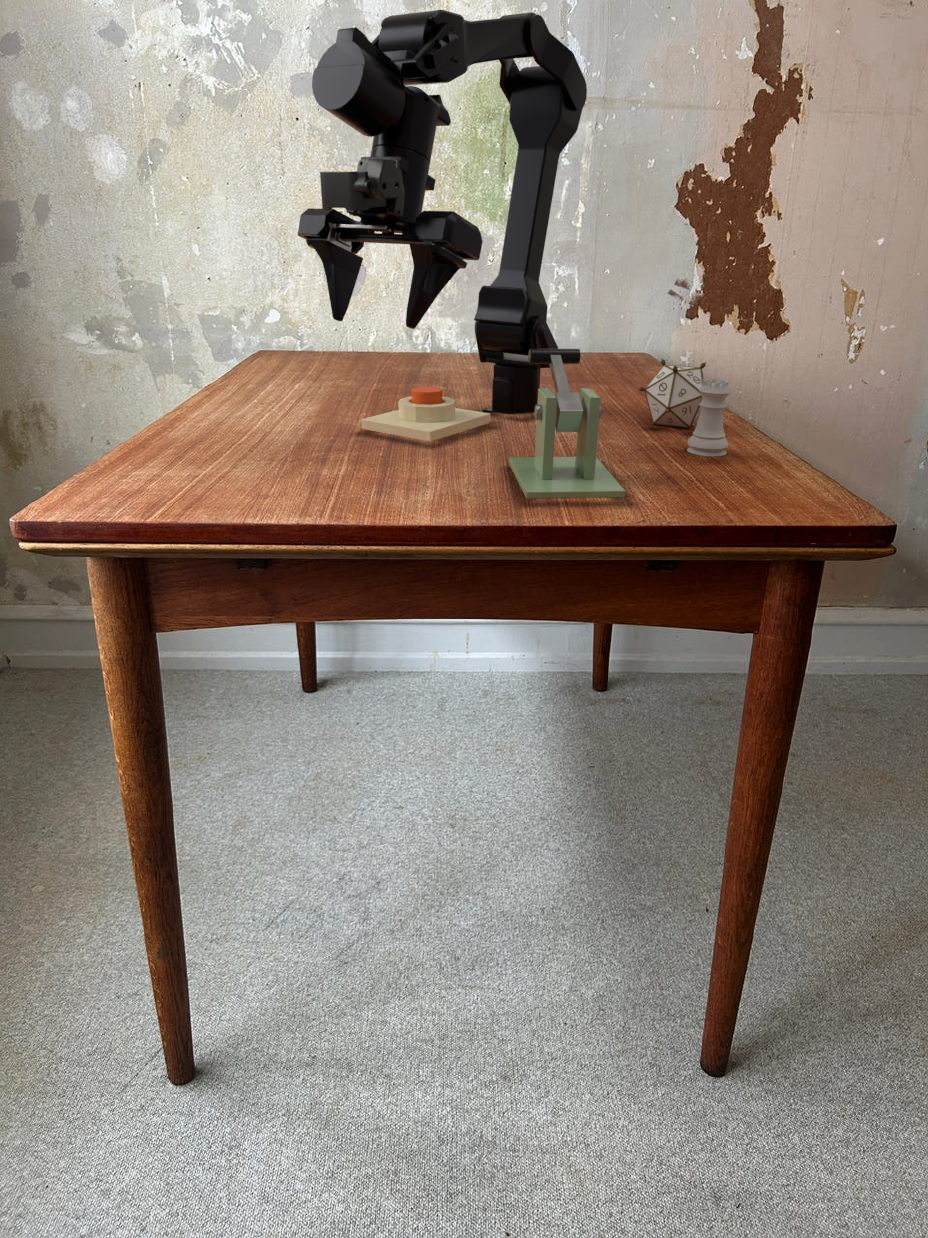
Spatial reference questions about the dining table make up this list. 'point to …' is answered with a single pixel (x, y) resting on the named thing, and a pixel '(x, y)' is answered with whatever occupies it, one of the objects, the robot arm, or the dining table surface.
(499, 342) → the robot arm
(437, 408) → the button block
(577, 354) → the lever
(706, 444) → the rook chess piece
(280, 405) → the dining table surface
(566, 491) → the green lever stand
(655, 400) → the game die
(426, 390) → the button
